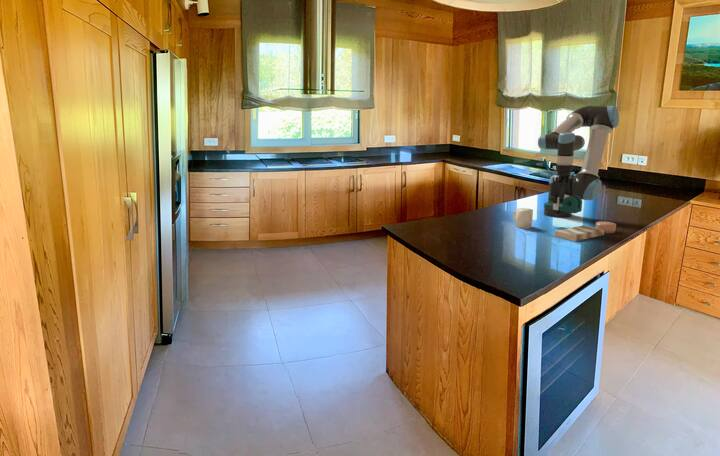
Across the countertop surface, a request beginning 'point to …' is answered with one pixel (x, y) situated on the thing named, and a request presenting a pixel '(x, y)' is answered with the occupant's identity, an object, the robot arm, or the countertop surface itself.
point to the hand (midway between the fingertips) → (560, 208)
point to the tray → (579, 233)
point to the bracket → (568, 204)
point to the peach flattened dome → (606, 226)
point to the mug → (523, 218)
